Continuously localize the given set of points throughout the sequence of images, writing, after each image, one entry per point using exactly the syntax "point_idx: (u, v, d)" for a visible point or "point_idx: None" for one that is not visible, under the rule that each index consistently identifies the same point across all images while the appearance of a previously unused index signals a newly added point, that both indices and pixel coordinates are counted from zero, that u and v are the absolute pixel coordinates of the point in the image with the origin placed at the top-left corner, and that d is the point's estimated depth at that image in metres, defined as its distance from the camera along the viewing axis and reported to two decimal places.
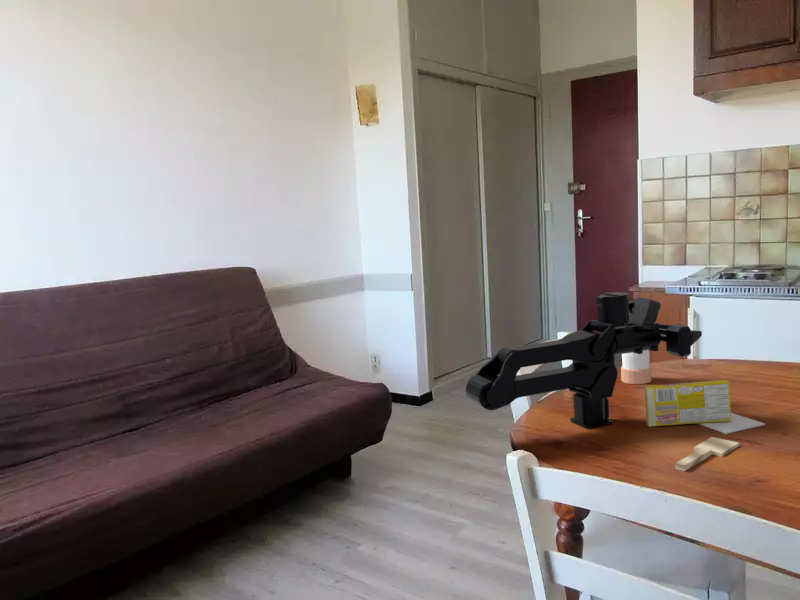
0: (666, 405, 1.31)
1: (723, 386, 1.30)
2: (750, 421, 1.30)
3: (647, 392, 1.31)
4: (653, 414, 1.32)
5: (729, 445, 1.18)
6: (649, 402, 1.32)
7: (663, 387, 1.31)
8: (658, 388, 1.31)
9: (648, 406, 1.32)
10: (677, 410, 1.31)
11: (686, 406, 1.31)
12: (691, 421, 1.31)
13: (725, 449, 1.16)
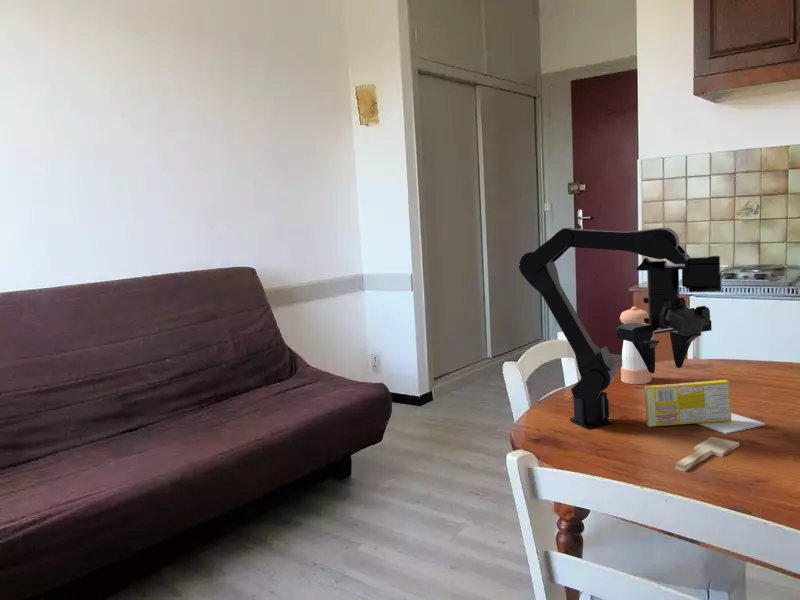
0: (666, 406, 1.31)
1: (723, 386, 1.30)
2: (750, 421, 1.30)
3: (647, 392, 1.31)
4: (653, 414, 1.32)
5: (729, 445, 1.18)
6: (649, 402, 1.32)
7: (663, 387, 1.31)
8: (658, 388, 1.31)
9: (648, 406, 1.32)
10: (677, 410, 1.31)
11: (686, 406, 1.31)
12: (691, 421, 1.31)
13: (725, 449, 1.16)
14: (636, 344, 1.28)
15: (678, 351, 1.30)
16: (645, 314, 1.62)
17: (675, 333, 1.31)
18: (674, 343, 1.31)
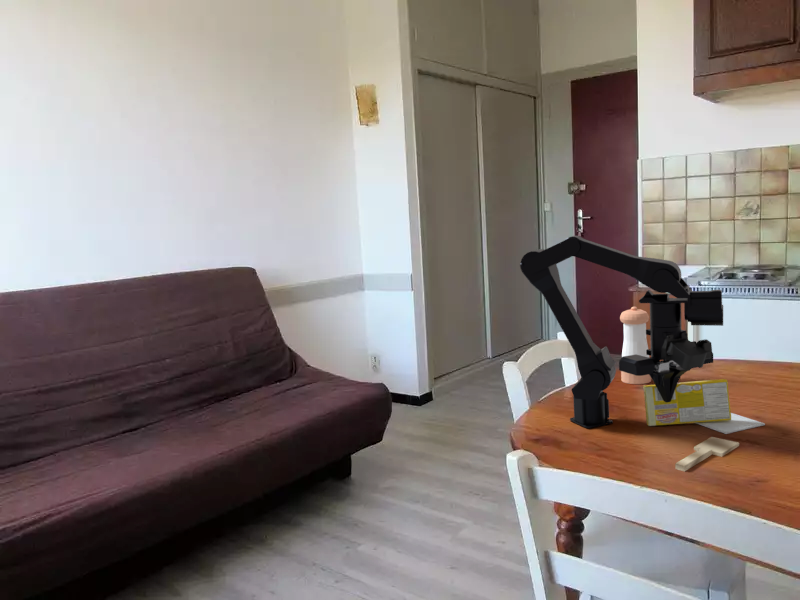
0: (666, 404, 1.32)
1: (722, 385, 1.30)
2: (750, 421, 1.30)
3: (646, 391, 1.32)
4: (653, 413, 1.32)
5: (729, 445, 1.18)
6: (649, 401, 1.32)
7: None
8: None
9: (647, 405, 1.32)
10: (677, 408, 1.31)
11: (685, 405, 1.31)
12: (691, 420, 1.31)
13: (725, 449, 1.16)
14: (651, 373, 1.30)
15: None
16: (645, 314, 1.62)
17: None
18: None
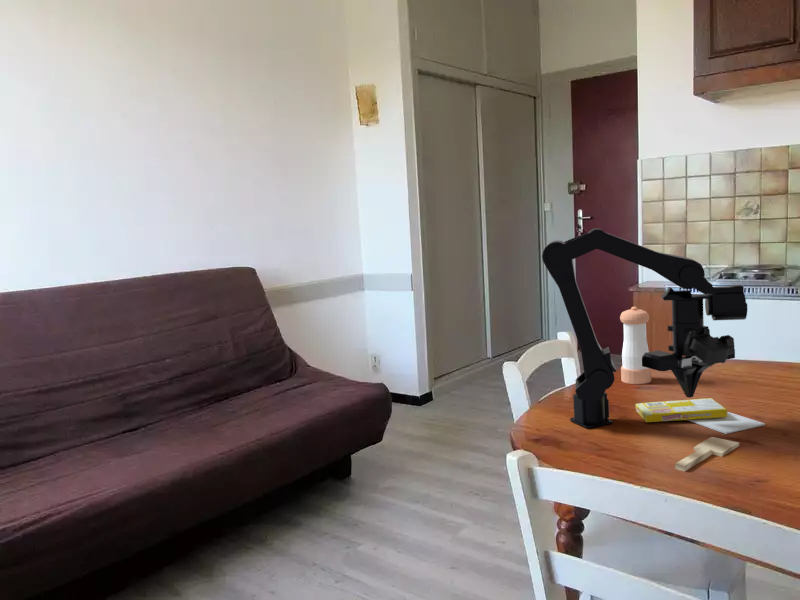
0: (658, 406, 1.37)
1: (708, 399, 1.39)
2: (750, 421, 1.30)
3: (637, 404, 1.41)
4: (647, 410, 1.36)
5: (729, 445, 1.18)
6: (641, 407, 1.39)
7: (651, 402, 1.41)
8: None
9: (641, 408, 1.38)
10: (669, 407, 1.36)
11: (677, 406, 1.37)
12: (686, 410, 1.33)
13: (725, 449, 1.16)
14: (673, 369, 1.32)
15: None
16: (645, 314, 1.62)
17: None
18: None
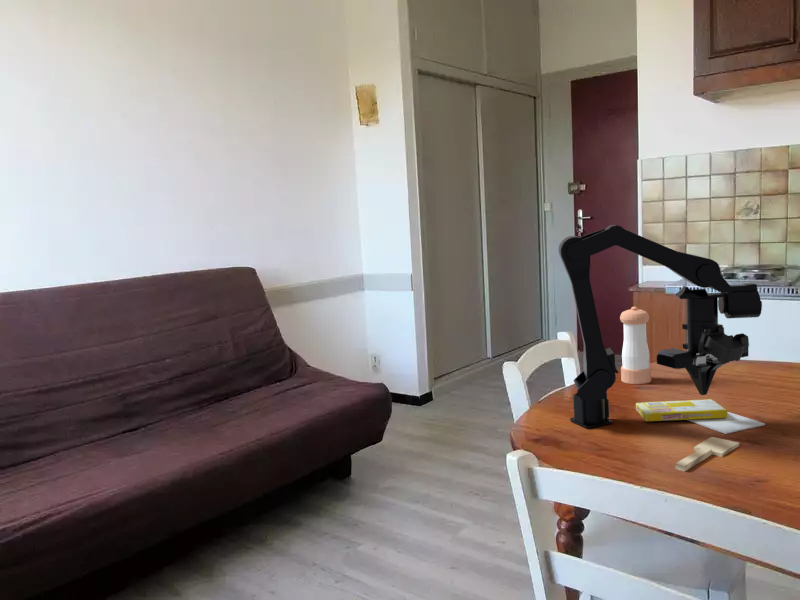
0: (658, 406, 1.37)
1: (708, 400, 1.39)
2: (750, 421, 1.30)
3: (637, 404, 1.41)
4: (647, 409, 1.36)
5: (729, 445, 1.18)
6: (641, 406, 1.39)
7: (651, 402, 1.41)
8: (647, 402, 1.41)
9: (641, 407, 1.38)
10: (670, 407, 1.36)
11: (677, 406, 1.37)
12: (687, 410, 1.33)
13: (725, 449, 1.16)
14: (687, 367, 1.33)
15: None
16: (645, 314, 1.62)
17: None
18: None
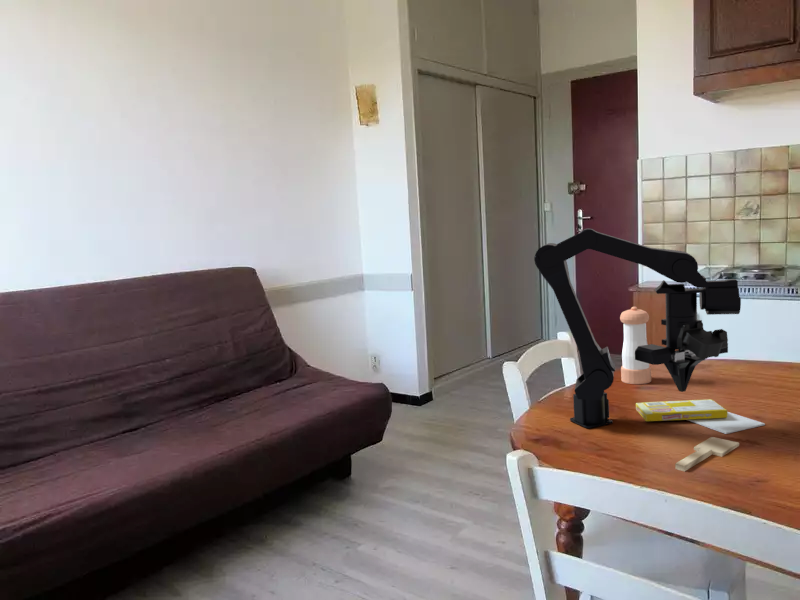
0: (658, 406, 1.37)
1: (708, 400, 1.39)
2: (750, 421, 1.30)
3: (637, 404, 1.41)
4: (647, 409, 1.36)
5: (729, 445, 1.18)
6: (641, 406, 1.39)
7: (651, 402, 1.41)
8: (647, 402, 1.41)
9: (641, 407, 1.38)
10: (670, 407, 1.36)
11: (677, 406, 1.37)
12: (687, 410, 1.33)
13: (725, 449, 1.16)
14: (666, 363, 1.31)
15: None
16: (645, 314, 1.62)
17: None
18: None
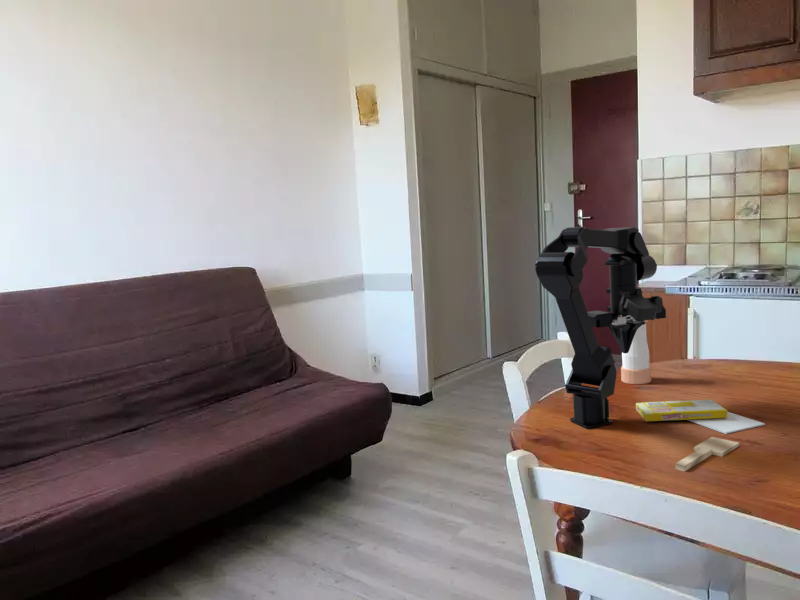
0: (658, 406, 1.37)
1: (708, 400, 1.39)
2: (750, 421, 1.30)
3: (637, 404, 1.41)
4: (647, 409, 1.36)
5: (729, 445, 1.18)
6: (641, 406, 1.39)
7: (651, 402, 1.41)
8: (647, 402, 1.41)
9: (641, 407, 1.38)
10: (670, 407, 1.36)
11: (677, 406, 1.37)
12: (687, 410, 1.33)
13: (725, 449, 1.16)
14: (611, 328, 1.47)
15: None
16: None
17: None
18: None
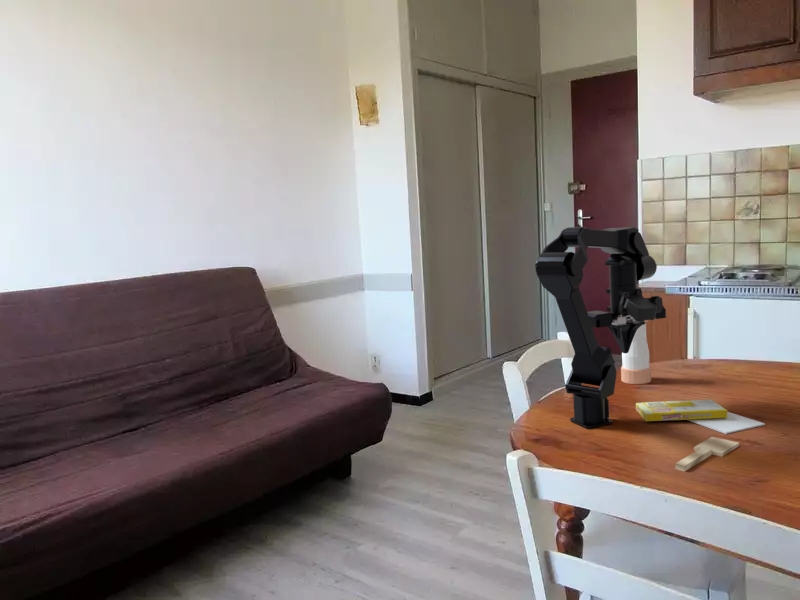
0: (658, 406, 1.37)
1: (708, 400, 1.39)
2: (750, 421, 1.30)
3: (637, 404, 1.41)
4: (647, 409, 1.36)
5: (729, 445, 1.18)
6: (641, 406, 1.39)
7: (651, 402, 1.41)
8: (647, 402, 1.41)
9: (641, 407, 1.38)
10: (670, 407, 1.36)
11: (677, 406, 1.37)
12: (687, 410, 1.33)
13: (725, 449, 1.16)
14: (611, 328, 1.47)
15: None
16: None
17: None
18: None
